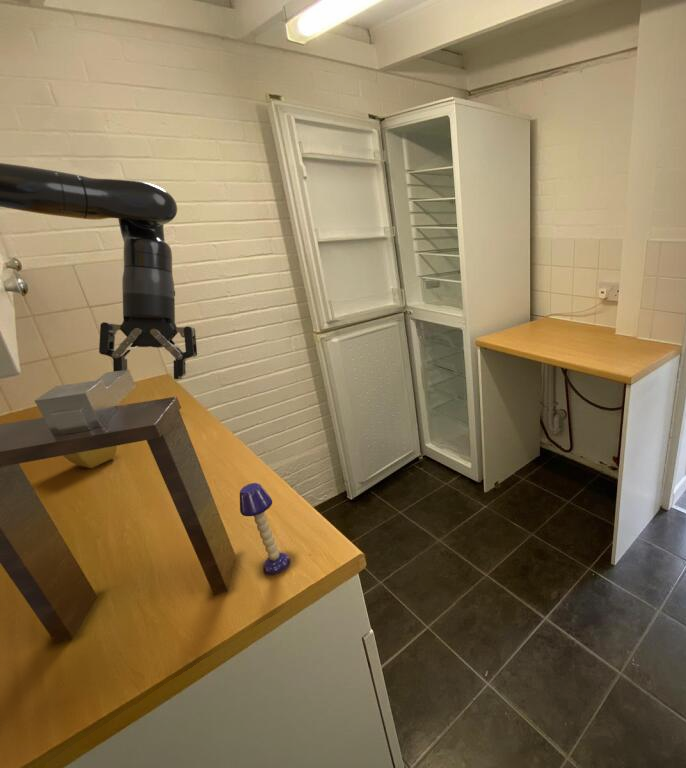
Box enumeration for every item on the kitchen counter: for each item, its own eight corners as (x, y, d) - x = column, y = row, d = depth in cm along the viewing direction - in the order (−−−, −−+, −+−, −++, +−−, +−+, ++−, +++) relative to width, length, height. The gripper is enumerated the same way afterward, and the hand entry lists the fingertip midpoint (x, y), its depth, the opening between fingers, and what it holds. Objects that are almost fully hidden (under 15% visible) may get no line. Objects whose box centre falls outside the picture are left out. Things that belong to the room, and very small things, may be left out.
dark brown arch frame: (51, 649, 61) (-78, 465, 48) (85, 595, 69) (-18, 426, 56) (226, 596, 68) (155, 424, 56) (237, 553, 77) (177, 396, 64)
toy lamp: (255, 573, 72) (226, 495, 66) (273, 553, 77) (248, 478, 70) (280, 576, 72) (253, 498, 65) (297, 555, 76) (273, 480, 69)
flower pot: (64, 469, 104) (47, 437, 100) (105, 450, 112) (90, 421, 108) (86, 474, 101) (70, 443, 98) (127, 455, 109) (113, 425, 105)
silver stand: (50, 437, 53) (31, 402, 51) (105, 390, 67) (92, 361, 65) (100, 428, 55) (83, 394, 53) (143, 385, 69) (132, 356, 67)
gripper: (89, 287, 74) (92, 379, 74) (188, 294, 79) (189, 380, 80) (111, 294, 80) (113, 377, 81) (200, 299, 86) (201, 378, 87)
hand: (151, 378), depth 81 cm, fingers open, 8 cm apart
